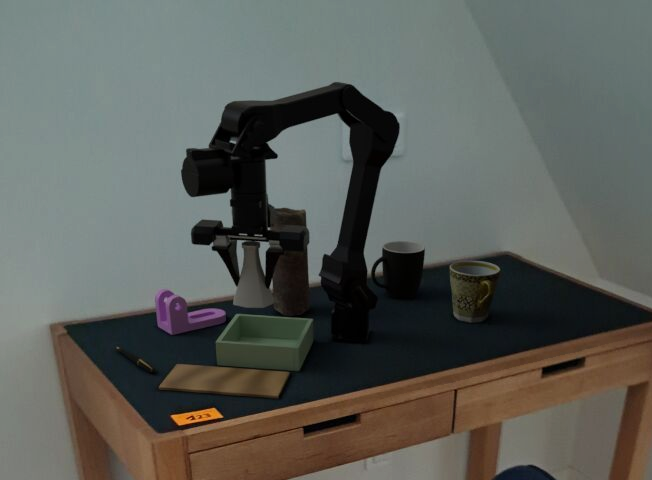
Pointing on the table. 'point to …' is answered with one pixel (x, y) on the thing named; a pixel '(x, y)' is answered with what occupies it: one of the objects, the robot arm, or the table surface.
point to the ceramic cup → (473, 289)
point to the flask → (252, 280)
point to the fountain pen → (136, 360)
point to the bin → (265, 342)
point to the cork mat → (225, 381)
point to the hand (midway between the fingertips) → (253, 287)
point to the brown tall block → (291, 269)
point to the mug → (401, 268)
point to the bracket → (183, 314)
